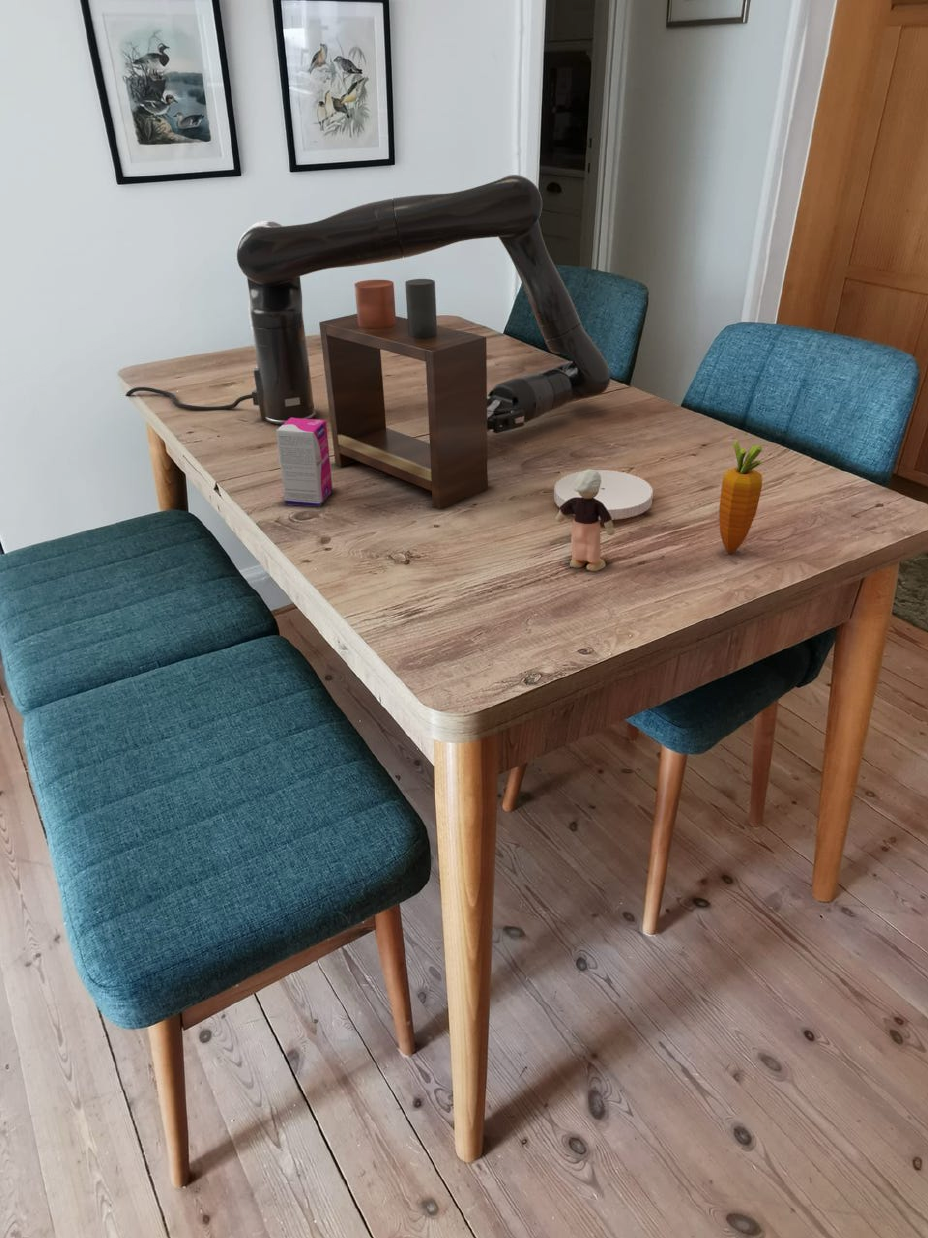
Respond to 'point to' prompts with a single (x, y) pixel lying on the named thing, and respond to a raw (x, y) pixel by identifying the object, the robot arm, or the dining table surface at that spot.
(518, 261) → the robot arm
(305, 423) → the supplement box
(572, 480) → the plastic lid
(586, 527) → the grandmother figurine
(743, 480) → the carrot
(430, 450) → the spice rack
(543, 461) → the dining table surface
